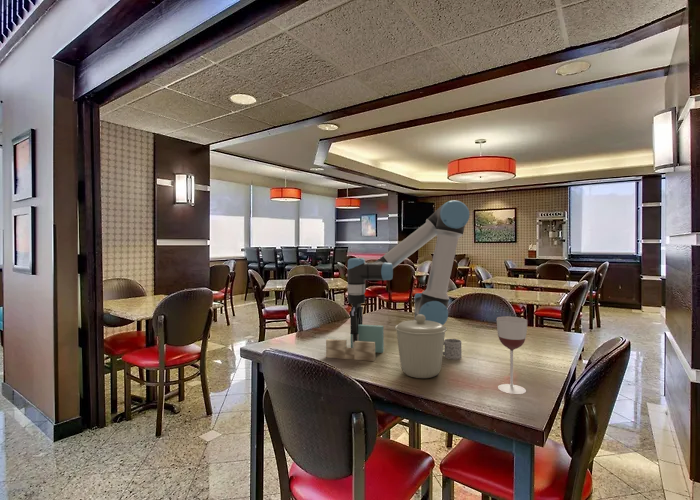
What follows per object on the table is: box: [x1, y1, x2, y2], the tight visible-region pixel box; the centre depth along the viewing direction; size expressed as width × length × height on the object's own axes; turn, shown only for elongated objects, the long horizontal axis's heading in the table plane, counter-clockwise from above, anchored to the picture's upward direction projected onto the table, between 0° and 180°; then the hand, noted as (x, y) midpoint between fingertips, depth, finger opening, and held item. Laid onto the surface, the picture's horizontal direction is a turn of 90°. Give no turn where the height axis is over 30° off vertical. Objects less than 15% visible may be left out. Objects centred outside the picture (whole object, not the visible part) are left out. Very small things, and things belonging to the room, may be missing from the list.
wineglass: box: [496, 315, 528, 395], centre depth 120 cm, size 9×10×22 cm
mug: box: [442, 338, 463, 360], centre depth 154 cm, size 10×7×7 cm
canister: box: [394, 314, 448, 379], centre depth 134 cm, size 18×18×21 cm
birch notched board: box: [325, 338, 376, 362], centre depth 153 cm, size 20×2×7 cm, turn 74°
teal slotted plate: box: [350, 324, 385, 354], centre depth 163 cm, size 2×14×11 cm, turn 74°
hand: (356, 347), depth 165 cm, fingers open, 3 cm apart
